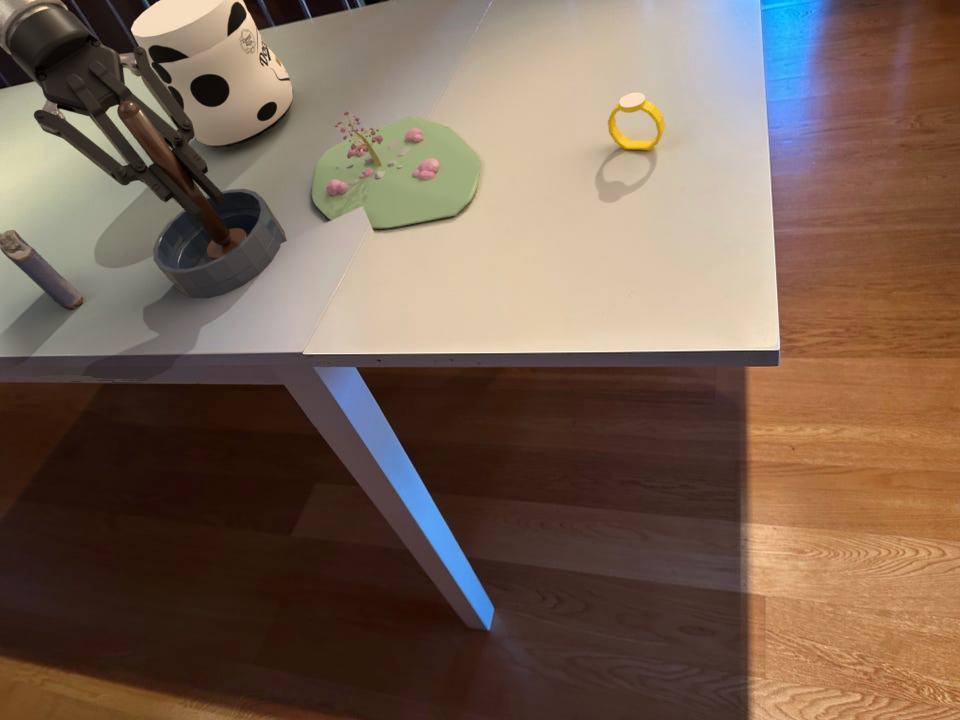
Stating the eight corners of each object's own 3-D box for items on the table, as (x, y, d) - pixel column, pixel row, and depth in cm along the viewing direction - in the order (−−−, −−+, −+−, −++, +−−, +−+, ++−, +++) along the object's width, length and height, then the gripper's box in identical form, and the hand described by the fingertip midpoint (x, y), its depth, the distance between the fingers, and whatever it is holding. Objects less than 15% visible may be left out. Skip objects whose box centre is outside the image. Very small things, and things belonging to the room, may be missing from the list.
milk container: (322, 92, 104) (264, -29, 90) (256, 162, 96) (181, 41, 82) (245, 89, 112) (181, -22, 98) (178, 154, 104) (98, 42, 90)
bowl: (186, 326, 77) (154, 291, 72) (181, 257, 86) (152, 221, 81) (298, 275, 77) (272, 236, 72) (280, 211, 86) (257, 173, 82)
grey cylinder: (88, 300, 85) (22, 237, 77) (68, 315, 84) (0, 254, 76) (62, 276, 91) (-1, 215, 83) (44, 290, 90) (-23, 230, 82)
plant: (525, 134, 82) (508, 66, 75) (436, 248, 73) (408, 182, 67) (374, 118, 95) (347, 57, 88) (282, 213, 86) (245, 154, 79)
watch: (668, 141, 74) (665, 92, 70) (660, 157, 73) (656, 108, 68) (617, 137, 77) (611, 90, 72) (608, 152, 76) (602, 105, 71)
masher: (215, 273, 77) (97, 125, 62) (212, 249, 80) (99, 102, 66) (255, 255, 77) (146, 102, 62) (250, 231, 80) (146, 81, 66)
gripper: (111, 17, 73) (265, 179, 76) (-13, 94, 69) (156, 263, 72) (96, -29, 66) (265, 151, 69) (-44, 52, 62) (144, 242, 64)
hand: (209, 208), depth 70 cm, fingers closed on masher, 2 cm apart
